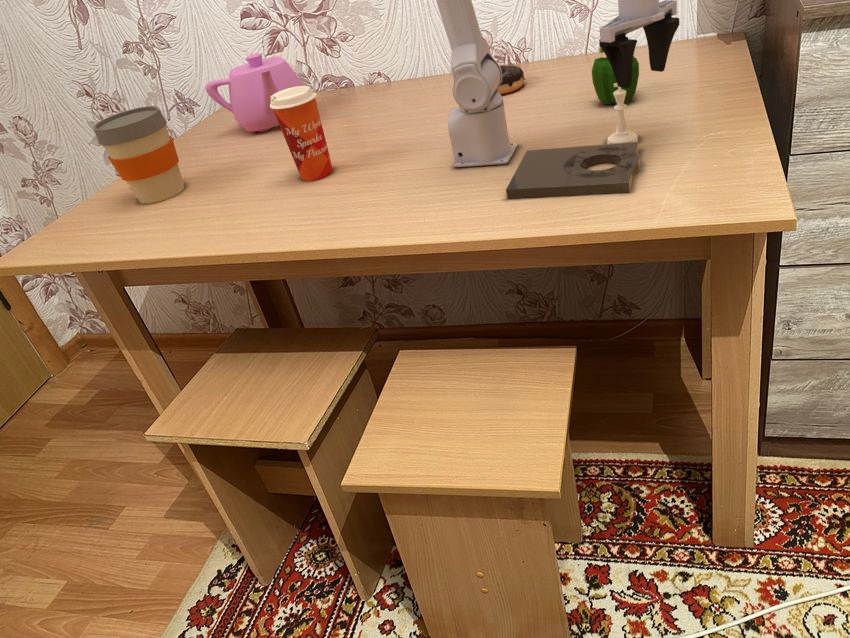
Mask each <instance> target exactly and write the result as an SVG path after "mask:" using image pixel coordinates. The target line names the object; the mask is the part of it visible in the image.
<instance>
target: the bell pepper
mask: <svg viewBox="0 0 850 638" xmlns="http://www.w3.org/2000/svg"><path fill="white" fill-rule="evenodd" d="M598 51H599V53H600V54H603V53H604V52H603V50H602V49H601V47H598ZM639 76H640V63H639V61H638V59H637V57H635V55H633V63H632V84H631V87H629V88H624V87H621V89H622V90H626V96H625V100H624V104H626V103H629V102H631V101H632V99H634V98H633V97H634V96H635V94H636V92H637V88H638V82H639ZM591 79H592V85H593V88H594V91H595V95H596V96H597V98H598V100H599V101H600V103H602V105H611V104H615V105H617V102H616V100H615V97H614V95H613V93H614V91H616V90H618V87H614V83H617V82H616V78H615V75H614V72H613V69H612V67H611V64H610V62H609V60H608V58H607V56H605V57H598V58H594V61H593V64H592V69H591Z"/></svg>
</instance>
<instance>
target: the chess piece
mask: <svg viewBox="0 0 850 638" xmlns="http://www.w3.org/2000/svg"><path fill="white" fill-rule="evenodd" d="M614 87H618V85H617V83H614ZM613 95H614V97H615V100H616V102H617V104H615V105H614V106H613V110H614V111H617V117H616V119H617V120H616V130H615V131H614V132H613V133H612V134H610V135H609V136H608V137H607V142H606V144H617V143H630V142H631V143H632V142H639V141H638V140H639V138H638V134H637V133H636V132H634V131H630V130H629V129H628V127H627V121H626V116H625V110H626V109H627V108H628V105H627V104H626V103H624V100H625V96H626V90H622V89H621V87H618V90H616V91H614V93H613Z"/></svg>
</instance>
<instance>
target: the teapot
mask: <svg viewBox="0 0 850 638" xmlns="http://www.w3.org/2000/svg"><path fill="white" fill-rule="evenodd" d="M245 61H247V63H245V64H244V63H243V64H241V65H239V66H235V67H233V68H231V69H230V70H229V73H228V78H219V79H215V80H214V79H213V80H211V81H208V82H207V83H206V84H205V85H204V88H205V92H206V93H207V95H208V97H210V98H211V100H213V101H214V102H215V103H216V104H218V105H220V106H221V107H222V108H224V109H226V110H227V111H229V112H231V113H232V114H233V117H234V119H235V121H236V122H237V123H238V125H240V126H241V127H242V128H243V129H244V130H245V131H247V132H258V133H265V132H267V131H269V130H271V128H274V127H280V125H279V123H278V120H277V118H276V115H275V113H274V110H273V109H272V108H270V104H271V100H270V98H271V96H272V95H273V94H275V93H277V92H279V91H282V90H285V89H288V88H292V87H297V86H304V84H303V82H302V81H301V79H300V77H299V76H298V75H297V73H296V72H295V70H294V69H293V68H292V66H291V65H290V64H289V63H288V62H287V60H285V58H283V57H281V56H278V55H275V56H270V57H266V58H263V54H262V52H261V53H260V52H257V53H251V54H249V55H246V57H245ZM226 85H228V92H229V93H228V94H229V95H228V96H229V102H228V101H227V100H226V99H225V98H224V97H223V96H222V95H221V94H220V92H219V91H218V88H219V87H221V86H226Z"/></svg>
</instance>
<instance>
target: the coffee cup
mask: <svg viewBox="0 0 850 638" xmlns="http://www.w3.org/2000/svg"><path fill="white" fill-rule="evenodd" d="M317 95H318V94H317V92H314V88H311V86H309V85H303V86H297V87H292V88H288V89H285V90H282V91H279V92H277V93H275V94H273V95H272V96H271V98H270V100H271V104H270V108H272V109H273V110H274V113H275V115H276V118H277V120H278V123H279V127H280V130H281V132H282V135H283V137H284V140H285V142H286V145H287V147H288V149H289V152H290V154H291V157H292V159H293V162H294V165H295V167H296V169H297V171H298V174H299V176H300V177H301V180H303V181H306V182H312V181H313V182H314V181H317V180H321V179H325V178H327V177H328V176H329V175H331V174H332V173H333V170H334V169H333V165H332V161H331V155H330V152H329V148H328V144H327V139H326V135H325V132H324V128H323V127H324V126H323V124H322V123H323V122H322V120H321V115H320V111H319V107H318V103H317V100H316V97H317Z"/></svg>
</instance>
